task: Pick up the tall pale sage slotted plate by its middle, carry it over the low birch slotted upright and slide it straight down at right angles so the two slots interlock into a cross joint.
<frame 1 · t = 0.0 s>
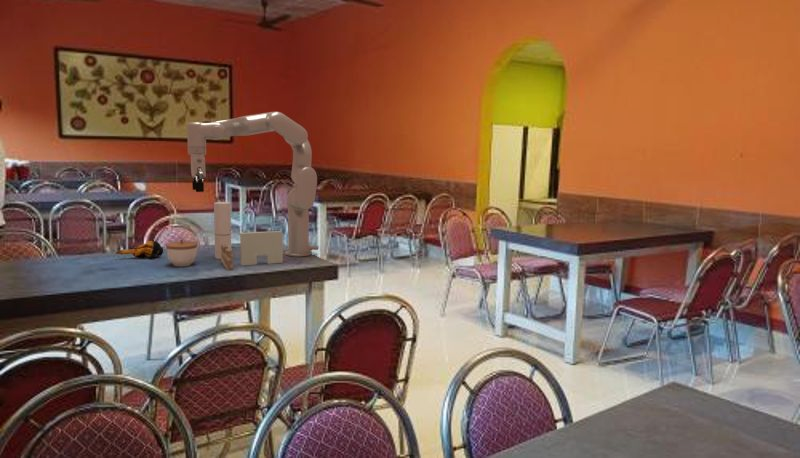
hand: (198, 190, 266), 31 cm above the table, tool pointing down, fingers open, 9 cm apart
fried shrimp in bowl: (141, 258, 274), on the table
lidded bowl: (182, 265, 263), on the table
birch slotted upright: (227, 266, 262), on the table
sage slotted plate: (261, 263, 269), on the table
cylindrical container: (223, 257, 280), on the table
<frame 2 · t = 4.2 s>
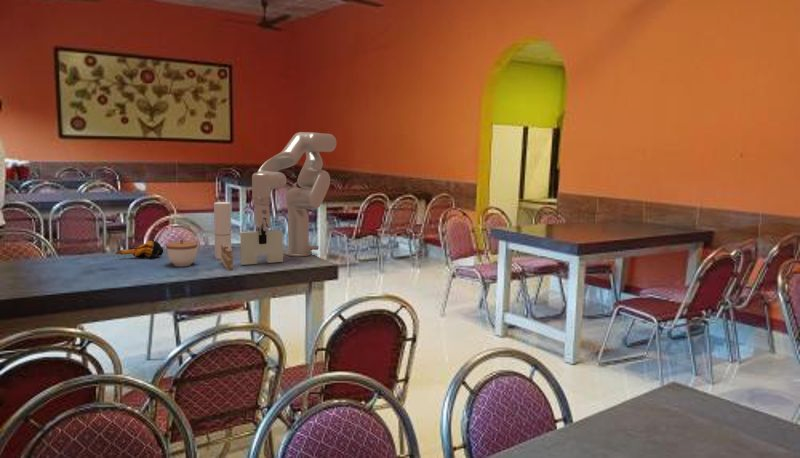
hand: (262, 242, 267), 9 cm above the table, tool pointing down, fingers closed on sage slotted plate, 2 cm apart
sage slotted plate: (262, 262, 269), on the table, touching gripper
everything else where it was.
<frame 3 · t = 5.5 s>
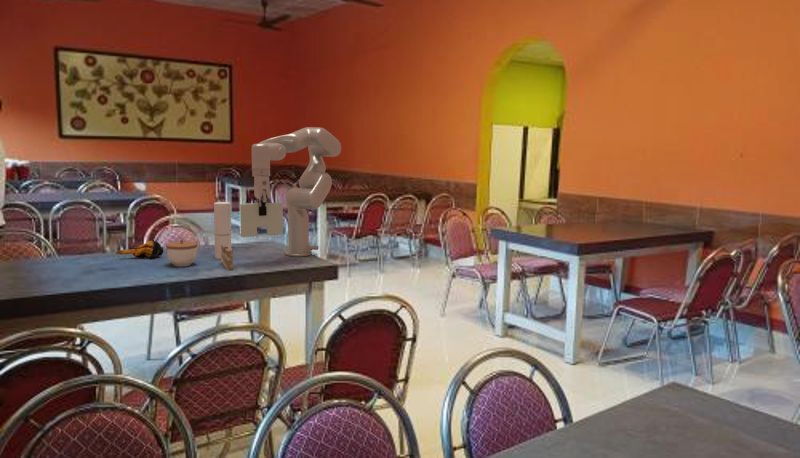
hand: (261, 214, 266), 22 cm above the table, tool pointing down, fingers closed on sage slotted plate
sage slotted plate: (262, 235, 267), point 13 cm above the table, touching gripper
everything else where it was.
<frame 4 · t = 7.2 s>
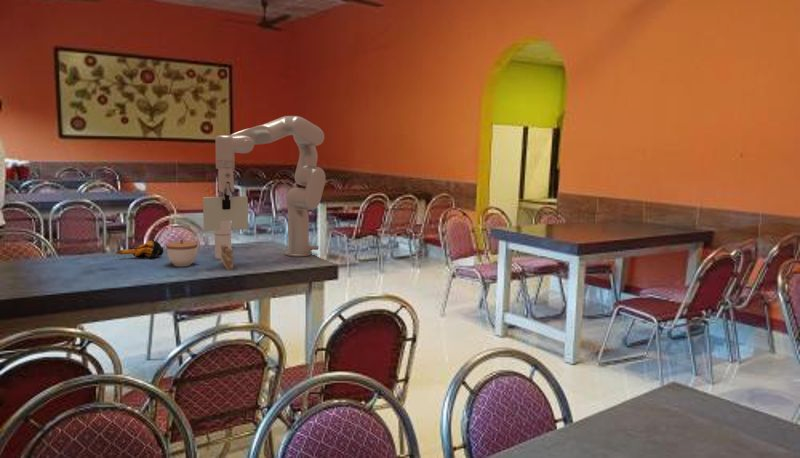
hand: (225, 208, 258), 25 cm above the table, tool pointing down, fingers closed on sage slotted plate
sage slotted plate: (226, 229, 259), point 16 cm above the table, touching gripper
everything else where it was.
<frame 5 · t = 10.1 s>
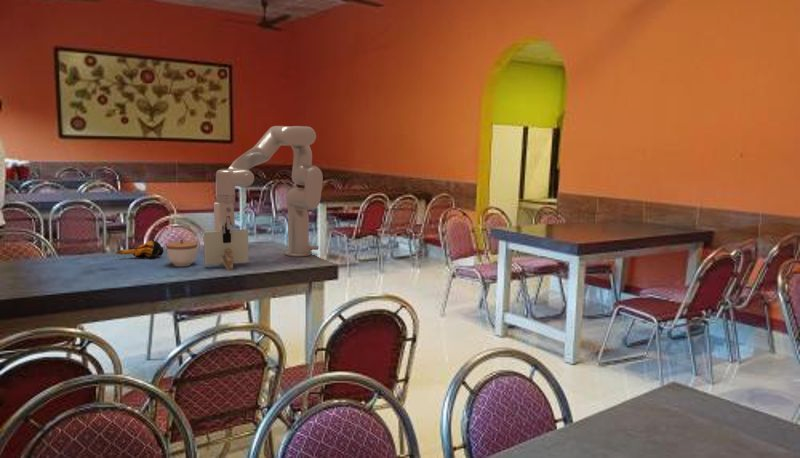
hand: (226, 241, 260), 11 cm above the table, tool pointing down, fingers closed on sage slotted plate, 2 cm apart
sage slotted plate: (226, 263, 262), point 1 cm above the table, touching gripper
everything else where it was.
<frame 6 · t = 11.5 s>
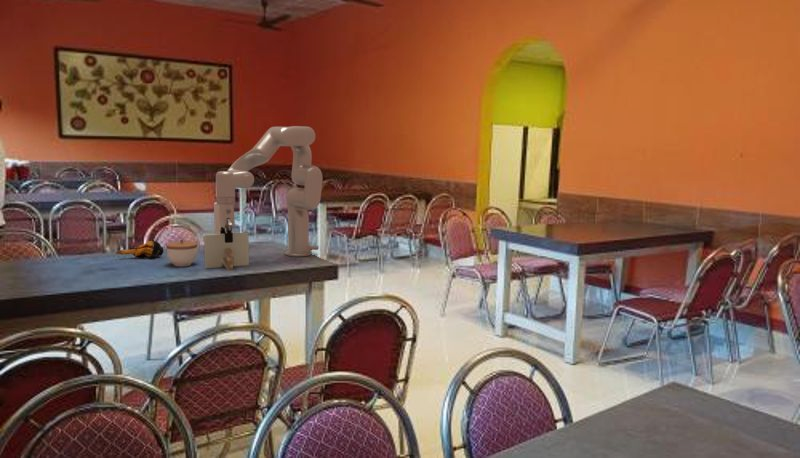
hand: (226, 240, 260), 11 cm above the table, tool pointing down, fingers open, 9 cm apart
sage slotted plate: (227, 266, 262), on the table, touching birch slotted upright
everything else where it was.
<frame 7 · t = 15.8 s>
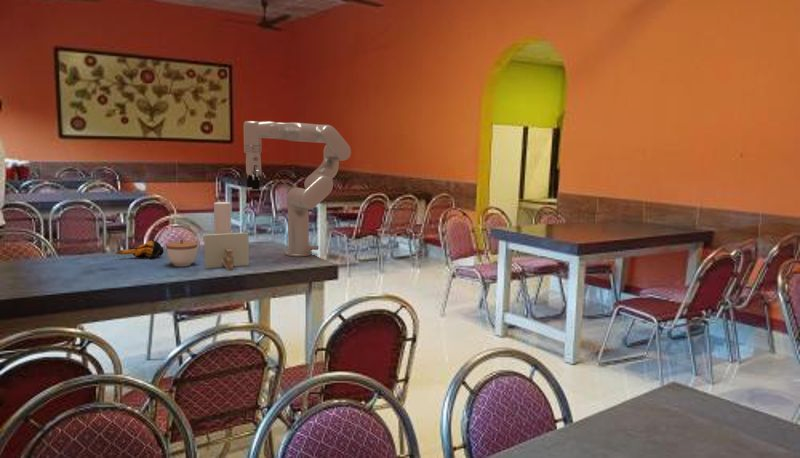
hand: (253, 188, 272), 32 cm above the table, tool pointing down, fingers open, 9 cm apart
nothing on the table moved.
at the end: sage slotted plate 0.1 cm off-centre on the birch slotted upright, point 0.0 cm above the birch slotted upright's base; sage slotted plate tilted 0°; the gripper is holding nothing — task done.
